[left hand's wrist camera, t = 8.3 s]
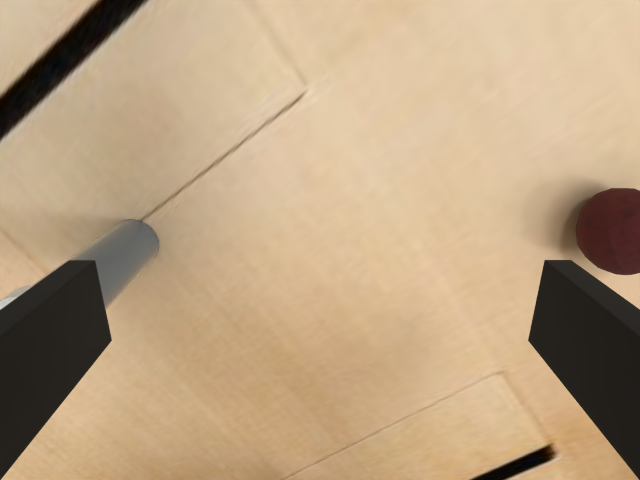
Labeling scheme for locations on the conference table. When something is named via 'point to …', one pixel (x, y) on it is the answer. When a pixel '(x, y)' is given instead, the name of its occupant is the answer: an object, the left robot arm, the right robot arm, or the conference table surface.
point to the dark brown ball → (611, 230)
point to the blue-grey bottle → (119, 256)
